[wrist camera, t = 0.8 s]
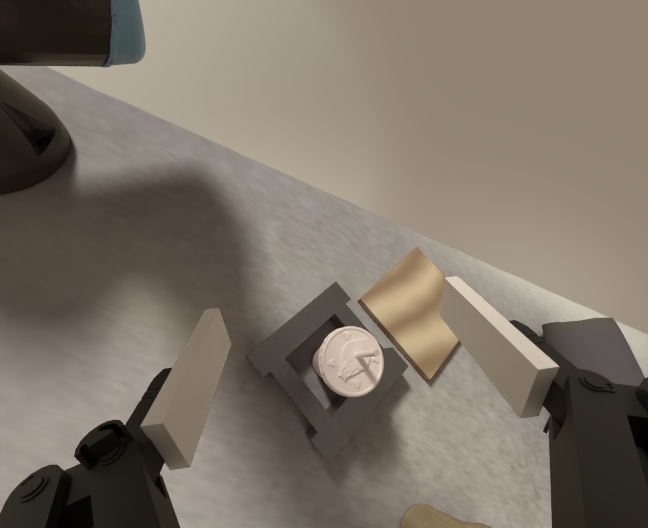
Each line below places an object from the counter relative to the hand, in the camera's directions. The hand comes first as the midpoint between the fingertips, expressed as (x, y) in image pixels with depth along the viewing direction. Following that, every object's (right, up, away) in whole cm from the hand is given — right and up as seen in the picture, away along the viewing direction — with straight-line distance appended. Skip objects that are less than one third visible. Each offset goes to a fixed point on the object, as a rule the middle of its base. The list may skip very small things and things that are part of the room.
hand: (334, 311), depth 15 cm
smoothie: (0, -10, +18) cm, 20 cm away
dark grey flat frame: (0, -10, +18) cm, 20 cm away
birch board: (+14, -4, +24) cm, 28 cm away
